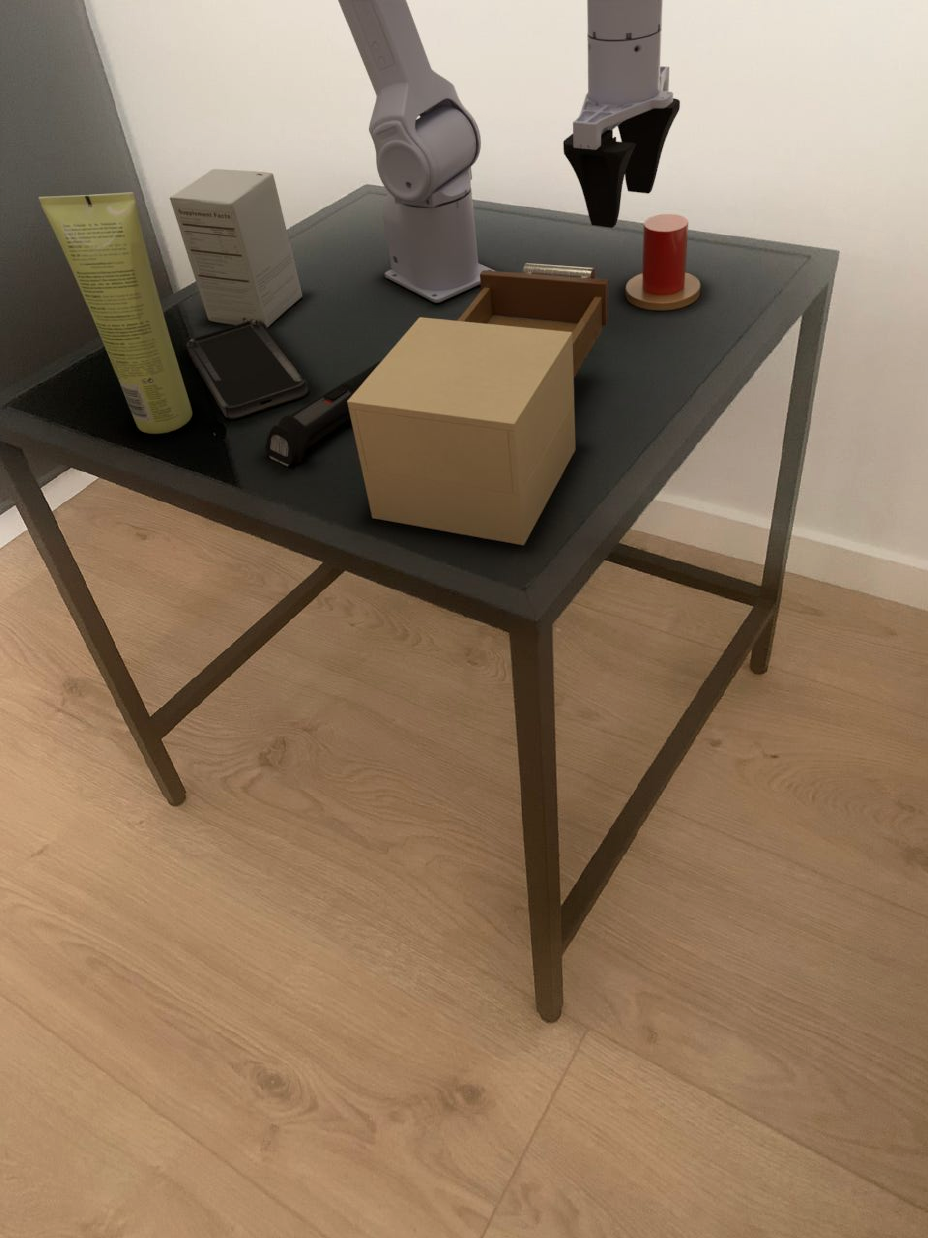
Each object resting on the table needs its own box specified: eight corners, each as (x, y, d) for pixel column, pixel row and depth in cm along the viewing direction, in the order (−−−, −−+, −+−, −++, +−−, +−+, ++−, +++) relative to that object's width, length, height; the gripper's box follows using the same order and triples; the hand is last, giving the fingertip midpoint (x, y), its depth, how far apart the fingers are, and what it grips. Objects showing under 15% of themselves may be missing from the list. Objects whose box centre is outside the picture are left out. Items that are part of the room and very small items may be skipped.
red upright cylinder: (633, 286, 91) (634, 224, 87) (662, 272, 93) (665, 210, 89) (663, 299, 89) (666, 235, 85) (693, 284, 90) (697, 220, 86)
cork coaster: (610, 295, 92) (610, 287, 92) (661, 270, 95) (661, 262, 94) (663, 318, 88) (663, 310, 87) (715, 291, 91) (716, 283, 90)
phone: (259, 317, 94) (309, 382, 84) (262, 328, 95) (312, 393, 84) (182, 341, 92) (223, 410, 82) (186, 352, 93) (227, 422, 82)
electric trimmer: (424, 385, 84) (420, 352, 82) (294, 470, 76) (285, 436, 74) (394, 373, 86) (389, 341, 84) (264, 455, 78) (254, 422, 76)
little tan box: (435, 429, 78) (419, 316, 72) (575, 449, 74) (572, 331, 67) (372, 518, 71) (346, 401, 64) (524, 545, 67) (514, 423, 60)
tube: (186, 396, 87) (108, 174, 73) (209, 418, 84) (132, 190, 70) (128, 420, 85) (37, 196, 71) (149, 444, 82) (58, 214, 68)
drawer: (504, 292, 85) (500, 248, 82) (622, 302, 81) (623, 256, 78) (433, 383, 75) (426, 337, 72) (565, 400, 71) (563, 351, 68)
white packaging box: (246, 289, 102) (212, 166, 93) (304, 297, 99) (275, 170, 90) (205, 322, 97) (166, 195, 88) (265, 331, 94) (231, 201, 86)
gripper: (633, 60, 68) (630, 247, 78) (707, 6, 77) (696, 181, 86) (546, 56, 71) (553, 236, 81) (626, 5, 80) (624, 173, 89)
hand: (622, 207), depth 84 cm, fingers open, 7 cm apart
